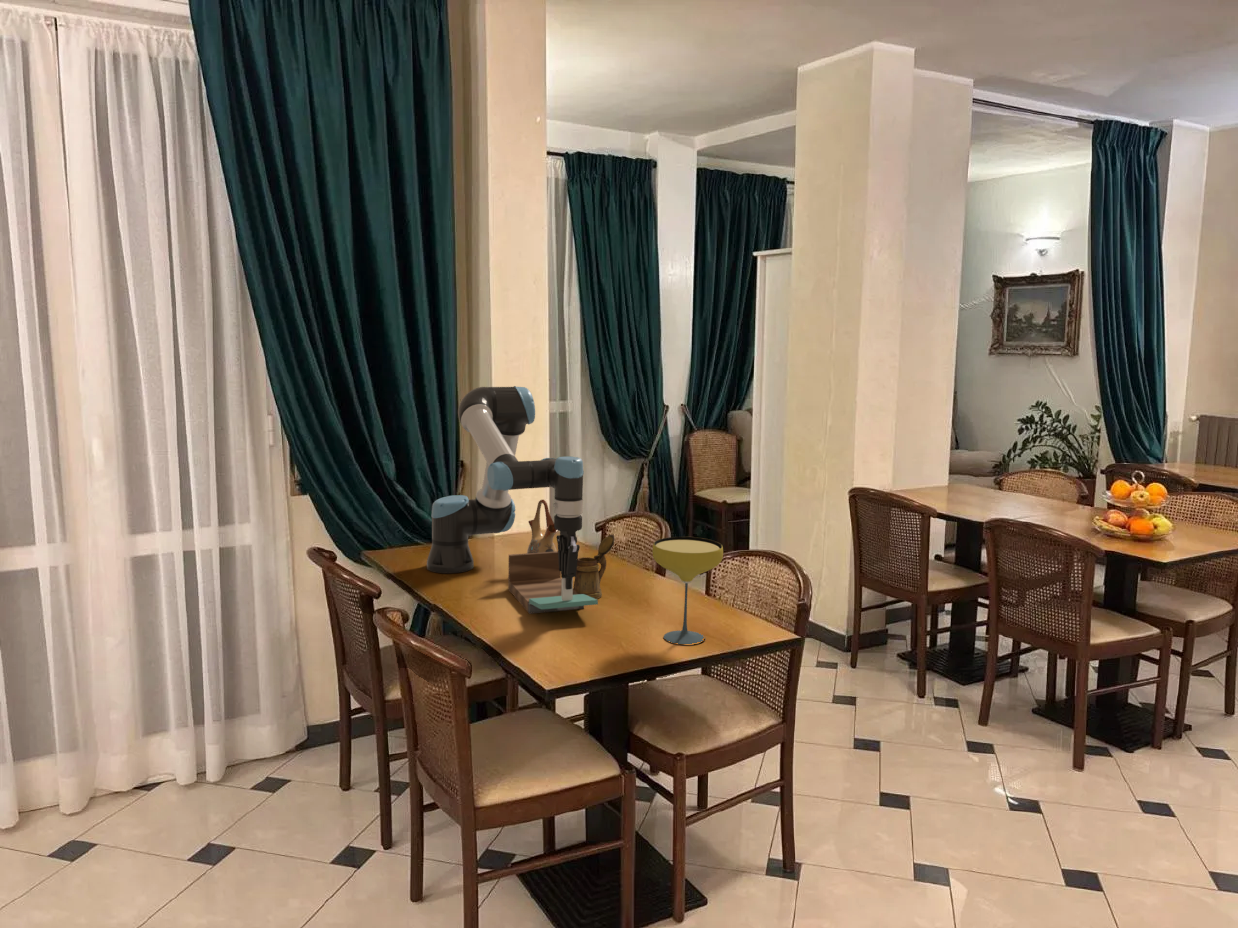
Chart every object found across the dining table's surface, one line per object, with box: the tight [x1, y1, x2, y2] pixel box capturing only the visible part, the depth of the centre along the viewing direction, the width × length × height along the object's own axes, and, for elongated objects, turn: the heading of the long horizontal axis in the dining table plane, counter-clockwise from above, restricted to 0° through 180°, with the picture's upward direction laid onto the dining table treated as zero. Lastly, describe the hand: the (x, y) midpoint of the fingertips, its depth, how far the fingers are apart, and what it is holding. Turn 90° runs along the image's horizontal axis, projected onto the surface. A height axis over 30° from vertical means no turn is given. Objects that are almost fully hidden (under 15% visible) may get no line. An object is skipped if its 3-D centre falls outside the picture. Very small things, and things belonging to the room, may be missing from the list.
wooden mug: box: [573, 533, 616, 600], centre depth 270 cm, size 9×14×18 cm, turn 121°
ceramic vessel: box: [526, 499, 558, 553], centre depth 288 cm, size 16×9×25 cm, turn 31°
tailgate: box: [529, 594, 599, 611], centre depth 249 cm, size 2×16×12 cm
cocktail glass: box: [651, 536, 724, 644], centre depth 233 cm, size 18×18×25 cm
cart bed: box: [508, 550, 585, 615], centre depth 265 cm, size 24×16×11 cm
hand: (566, 599), depth 246 cm, fingers closed
